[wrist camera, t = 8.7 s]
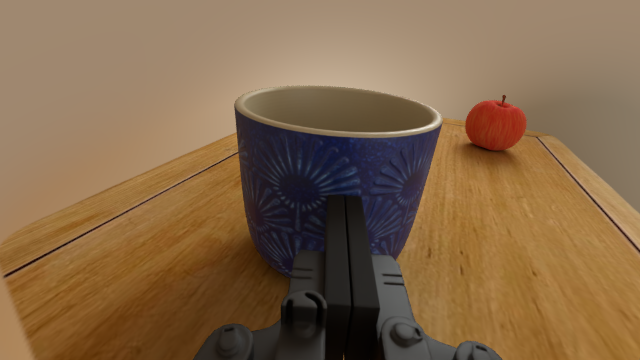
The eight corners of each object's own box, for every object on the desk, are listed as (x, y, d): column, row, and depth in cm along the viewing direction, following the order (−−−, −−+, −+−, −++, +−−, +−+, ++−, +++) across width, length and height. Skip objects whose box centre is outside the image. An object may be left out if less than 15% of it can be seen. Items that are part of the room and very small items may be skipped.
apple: (453, 136, 52) (466, 88, 48) (501, 140, 52) (518, 92, 48) (471, 153, 45) (487, 98, 41) (527, 158, 45) (548, 103, 41)
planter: (338, 192, 32) (350, 82, 27) (442, 263, 23) (487, 118, 18) (219, 227, 25) (205, 89, 20) (298, 348, 16) (308, 151, 11)
